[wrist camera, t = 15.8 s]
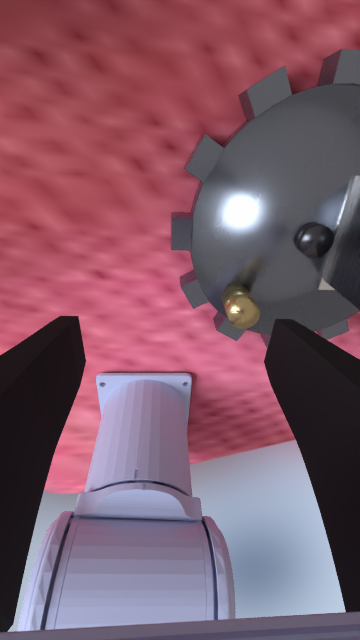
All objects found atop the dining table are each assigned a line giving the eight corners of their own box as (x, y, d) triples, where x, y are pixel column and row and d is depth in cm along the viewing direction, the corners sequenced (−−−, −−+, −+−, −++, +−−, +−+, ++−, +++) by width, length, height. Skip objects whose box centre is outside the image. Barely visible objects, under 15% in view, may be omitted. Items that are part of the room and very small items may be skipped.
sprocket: (465, 235, 18) (536, 255, 15) (263, 367, 24) (280, 404, 20) (368, -45, 12) (454, -127, 8) (117, 226, 17) (105, 246, 14)
